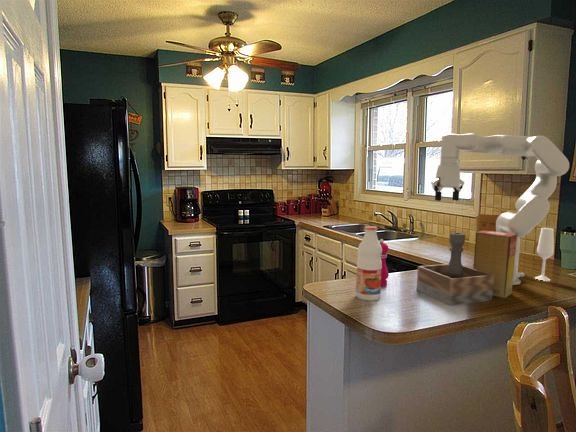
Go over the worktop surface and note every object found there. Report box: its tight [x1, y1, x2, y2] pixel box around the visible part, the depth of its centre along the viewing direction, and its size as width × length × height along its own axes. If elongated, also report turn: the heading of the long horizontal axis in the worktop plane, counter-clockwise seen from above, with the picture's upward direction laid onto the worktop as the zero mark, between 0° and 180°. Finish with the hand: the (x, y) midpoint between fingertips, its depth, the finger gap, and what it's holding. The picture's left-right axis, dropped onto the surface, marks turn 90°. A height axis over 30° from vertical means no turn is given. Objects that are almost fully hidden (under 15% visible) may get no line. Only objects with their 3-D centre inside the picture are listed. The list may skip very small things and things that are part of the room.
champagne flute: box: [534, 227, 555, 282], centre depth 186 cm, size 7×7×24 cm
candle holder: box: [447, 232, 466, 278], centre depth 160 cm, size 6×6×25 cm
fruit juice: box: [355, 225, 382, 302], centre depth 155 cm, size 9×9×28 cm
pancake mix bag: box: [475, 213, 501, 235], centre depth 205 cm, size 7×19×28 cm, turn 55°
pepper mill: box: [379, 238, 390, 287], centre depth 173 cm, size 7×7×20 cm
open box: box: [416, 263, 494, 306], centre depth 161 cm, size 20×20×10 cm
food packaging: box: [472, 230, 517, 299], centre depth 164 cm, size 13×9×25 cm
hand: (446, 200), depth 181 cm, fingers open, 9 cm apart
